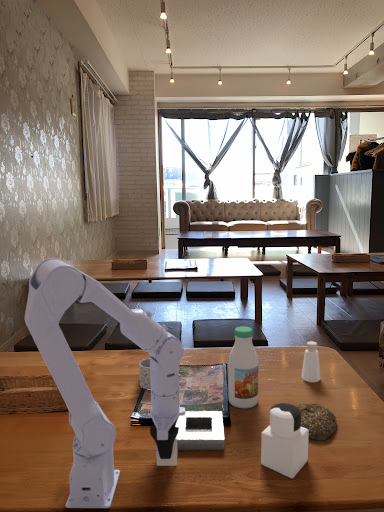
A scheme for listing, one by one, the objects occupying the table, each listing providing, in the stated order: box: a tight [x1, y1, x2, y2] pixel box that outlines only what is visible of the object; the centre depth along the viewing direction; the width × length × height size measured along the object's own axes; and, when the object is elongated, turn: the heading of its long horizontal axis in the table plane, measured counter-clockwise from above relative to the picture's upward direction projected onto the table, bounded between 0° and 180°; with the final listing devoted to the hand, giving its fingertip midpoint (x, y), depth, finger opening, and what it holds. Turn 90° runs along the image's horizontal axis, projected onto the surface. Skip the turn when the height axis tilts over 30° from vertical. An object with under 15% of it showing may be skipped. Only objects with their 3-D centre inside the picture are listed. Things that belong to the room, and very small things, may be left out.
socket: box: [175, 410, 225, 451], centre depth 93 cm, size 11×11×2 cm
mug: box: [138, 357, 151, 389], centre depth 118 cm, size 10×7×7 cm
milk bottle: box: [227, 325, 259, 409], centre depth 106 cm, size 8×8×20 cm
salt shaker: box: [300, 340, 321, 383], centre depth 119 cm, size 5×5×11 cm
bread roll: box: [295, 402, 337, 441], centre depth 97 cm, size 13×12×5 cm
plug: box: [155, 436, 179, 467], centre depth 84 cm, size 4×4×6 cm
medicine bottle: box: [260, 402, 309, 479], centre depth 82 cm, size 7×7×12 cm
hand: (166, 450), depth 85 cm, fingers closed on plug, 4 cm apart
